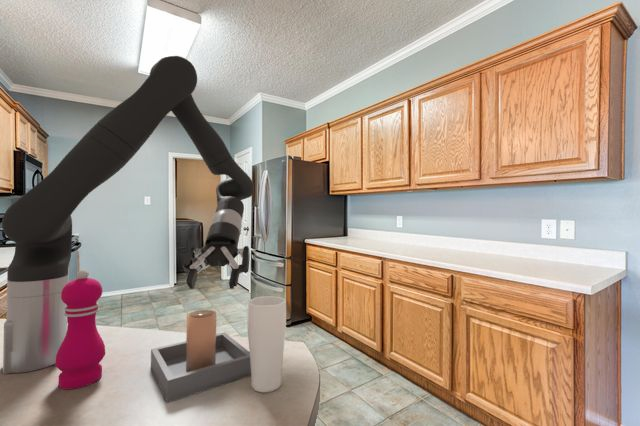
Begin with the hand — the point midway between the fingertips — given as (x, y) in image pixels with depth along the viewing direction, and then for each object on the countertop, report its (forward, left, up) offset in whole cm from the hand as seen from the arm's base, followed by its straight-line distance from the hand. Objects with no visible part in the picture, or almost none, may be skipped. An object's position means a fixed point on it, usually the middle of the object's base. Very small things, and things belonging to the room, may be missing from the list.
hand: (211, 286), depth 67 cm
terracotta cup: (-3, -5, -14) cm, 15 cm away
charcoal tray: (-3, -5, -15) cm, 16 cm away
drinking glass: (+4, -17, -15) cm, 23 cm away
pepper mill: (-22, +5, -15) cm, 27 cm away
